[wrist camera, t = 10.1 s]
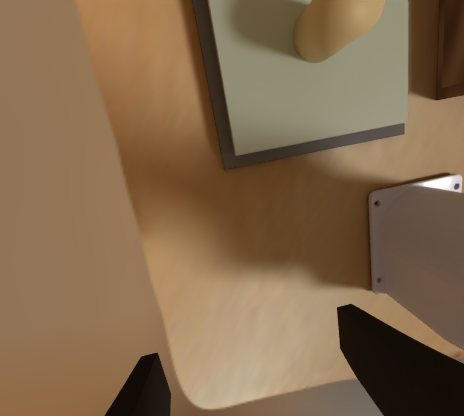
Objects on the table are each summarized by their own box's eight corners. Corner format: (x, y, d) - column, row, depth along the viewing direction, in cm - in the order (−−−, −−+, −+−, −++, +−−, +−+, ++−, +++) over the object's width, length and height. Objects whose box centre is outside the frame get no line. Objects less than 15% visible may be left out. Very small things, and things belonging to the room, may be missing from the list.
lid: (394, 123, 19) (466, 115, 14) (233, 155, 18) (247, 158, 13) (392, -84, 15) (486, -195, 10) (195, -60, 14) (193, -168, 9)
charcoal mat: (400, 134, 19) (404, 134, 19) (224, 169, 18) (224, 169, 18) (399, -94, 16) (404, -100, 15) (179, -67, 15) (178, -73, 14)
